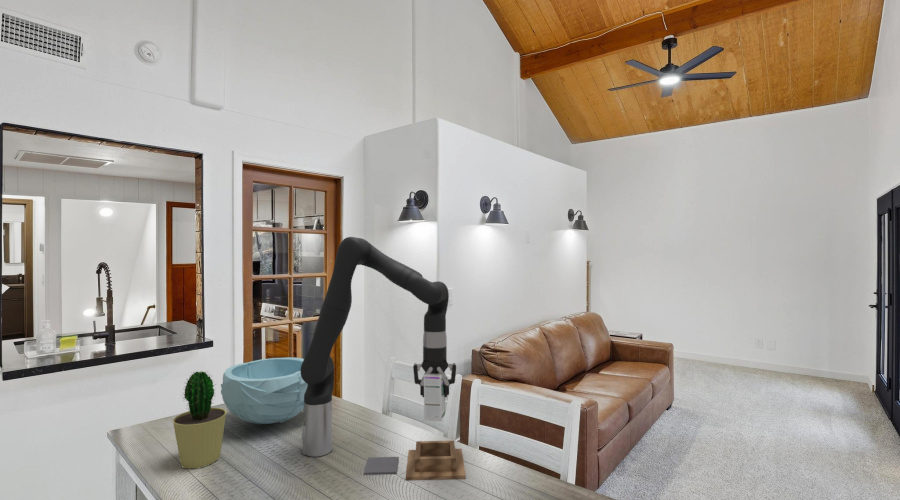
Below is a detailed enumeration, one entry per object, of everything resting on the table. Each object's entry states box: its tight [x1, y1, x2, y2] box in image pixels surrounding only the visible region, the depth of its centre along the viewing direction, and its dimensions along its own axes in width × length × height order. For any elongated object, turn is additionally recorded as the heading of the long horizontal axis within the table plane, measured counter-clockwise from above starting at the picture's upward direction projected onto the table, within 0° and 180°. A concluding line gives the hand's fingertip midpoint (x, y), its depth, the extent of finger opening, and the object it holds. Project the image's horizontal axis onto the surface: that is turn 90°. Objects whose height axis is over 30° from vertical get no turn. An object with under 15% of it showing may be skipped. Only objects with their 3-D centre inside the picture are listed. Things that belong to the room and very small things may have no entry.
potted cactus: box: [172, 370, 228, 469], centre depth 149 cm, size 15×15×30 cm
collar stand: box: [405, 440, 467, 481], centre depth 145 cm, size 18×18×5 cm
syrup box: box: [423, 372, 446, 422], centre depth 145 cm, size 6×6×14 cm
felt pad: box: [363, 456, 400, 475], centre depth 145 cm, size 10×10×1 cm
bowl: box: [220, 356, 308, 425], centre depth 181 cm, size 35×35×22 cm
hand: (434, 396), depth 145 cm, fingers closed on syrup box, 6 cm apart
